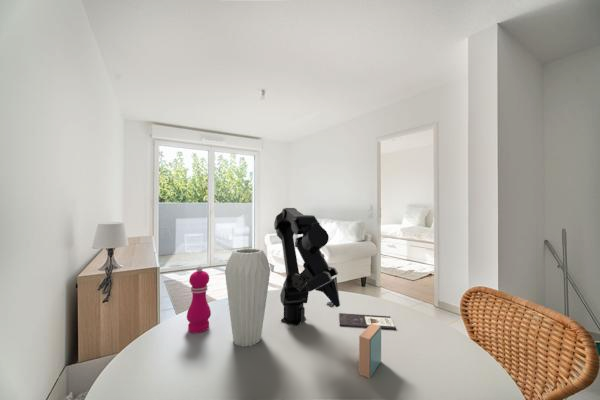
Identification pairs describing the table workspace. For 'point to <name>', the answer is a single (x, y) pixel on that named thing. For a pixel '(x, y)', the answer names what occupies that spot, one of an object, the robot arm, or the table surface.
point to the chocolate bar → (366, 321)
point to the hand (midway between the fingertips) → (338, 306)
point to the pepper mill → (198, 302)
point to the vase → (247, 294)
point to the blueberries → (330, 304)
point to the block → (369, 350)
